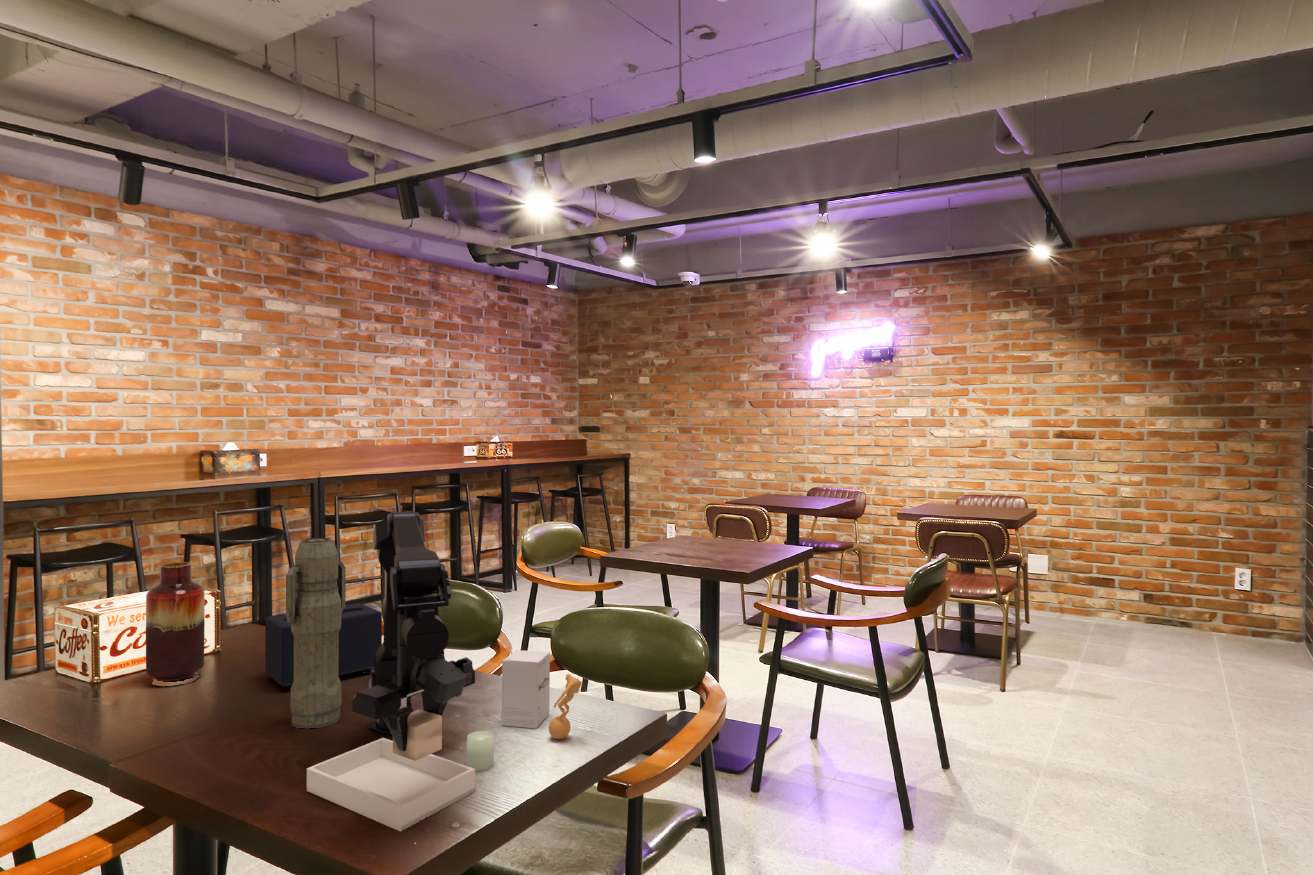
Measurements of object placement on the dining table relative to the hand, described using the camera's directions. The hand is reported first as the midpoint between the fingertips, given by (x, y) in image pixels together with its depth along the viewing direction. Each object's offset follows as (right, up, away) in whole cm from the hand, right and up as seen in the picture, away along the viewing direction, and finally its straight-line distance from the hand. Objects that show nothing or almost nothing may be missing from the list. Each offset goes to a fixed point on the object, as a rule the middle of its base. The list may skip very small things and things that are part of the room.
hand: (417, 744), depth 112 cm
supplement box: (+11, -9, +32) cm, 35 cm away
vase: (-72, -8, +55) cm, 91 cm away
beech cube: (0, -1, 0) cm, 1 cm away
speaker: (-40, -9, +58) cm, 71 cm away
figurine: (+19, -9, +23) cm, 31 cm away
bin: (-5, -9, +3) cm, 10 cm away
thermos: (-30, -9, +32) cm, 44 cm away
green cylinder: (+7, -9, +12) cm, 16 cm away
